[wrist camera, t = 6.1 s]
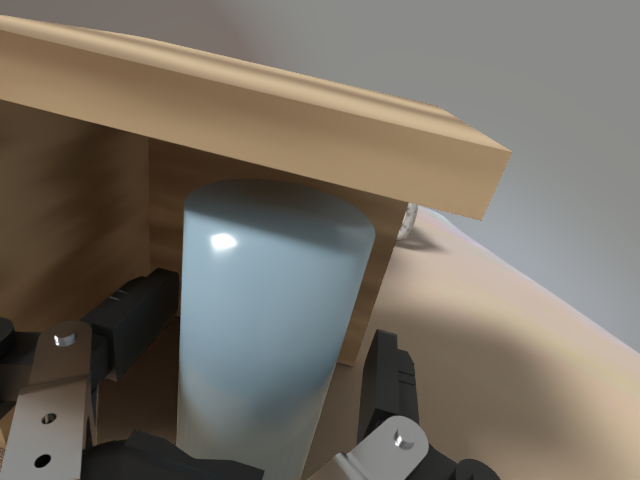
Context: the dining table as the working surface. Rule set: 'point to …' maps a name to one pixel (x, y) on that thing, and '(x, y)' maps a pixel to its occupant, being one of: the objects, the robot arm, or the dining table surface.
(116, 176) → the shelf
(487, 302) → the dining table surface
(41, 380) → the robot arm
